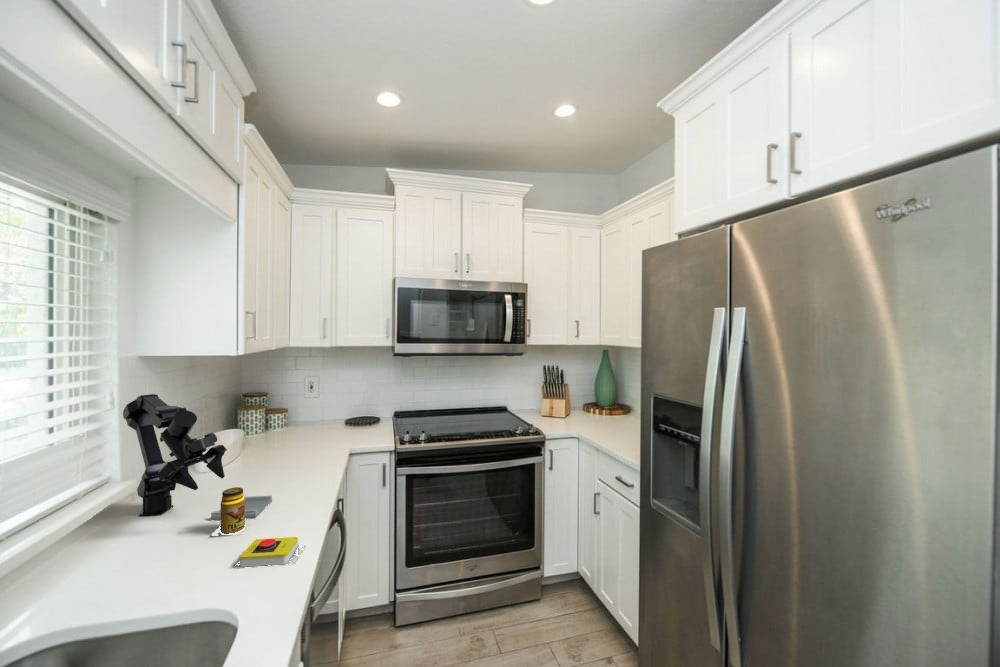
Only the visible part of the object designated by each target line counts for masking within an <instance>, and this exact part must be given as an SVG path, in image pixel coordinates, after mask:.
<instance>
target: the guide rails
mask: <svg viewBox="0 0 1000 667" xmlns="http://www.w3.org/2000/svg"><path fill="white" fill-rule="evenodd" d="M243 497H244V498H245V502H248V501H267V500H271V499H272V500H273V498H272V497H273V495H271V494H270V495H256V496H254V495H253V496H243ZM257 513H258V509H251V510H245V515H256V514H257ZM211 517H221V511H219V510H218V511H217V510H216V511H212V512H211V514H210V518H211Z"/></svg>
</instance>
